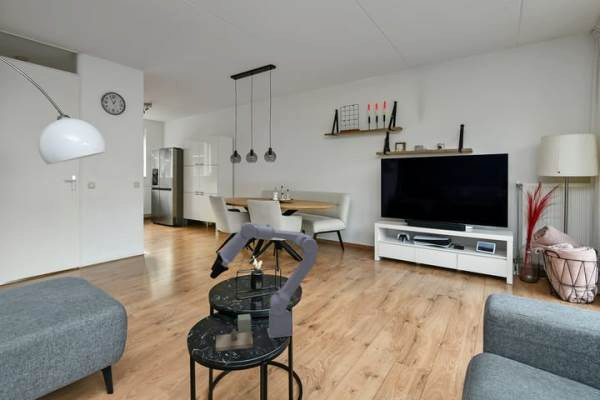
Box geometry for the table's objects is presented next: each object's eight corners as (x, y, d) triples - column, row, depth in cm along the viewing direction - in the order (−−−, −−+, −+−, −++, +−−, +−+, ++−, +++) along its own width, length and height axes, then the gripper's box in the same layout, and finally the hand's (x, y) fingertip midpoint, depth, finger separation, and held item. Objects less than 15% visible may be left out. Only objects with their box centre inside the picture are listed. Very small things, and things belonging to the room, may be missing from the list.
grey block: (249, 326, 136) (249, 313, 136) (250, 331, 131) (250, 319, 131) (237, 327, 135) (237, 315, 135) (238, 333, 130) (238, 320, 130)
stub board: (251, 335, 128) (251, 324, 128) (253, 347, 120) (253, 335, 119) (216, 339, 125) (216, 328, 125) (215, 351, 116) (215, 340, 116)
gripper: (226, 237, 131) (205, 262, 131) (225, 246, 117) (202, 275, 117) (239, 247, 133) (219, 271, 132) (240, 257, 119) (217, 285, 118)
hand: (212, 274), depth 125 cm, fingers open, 7 cm apart
